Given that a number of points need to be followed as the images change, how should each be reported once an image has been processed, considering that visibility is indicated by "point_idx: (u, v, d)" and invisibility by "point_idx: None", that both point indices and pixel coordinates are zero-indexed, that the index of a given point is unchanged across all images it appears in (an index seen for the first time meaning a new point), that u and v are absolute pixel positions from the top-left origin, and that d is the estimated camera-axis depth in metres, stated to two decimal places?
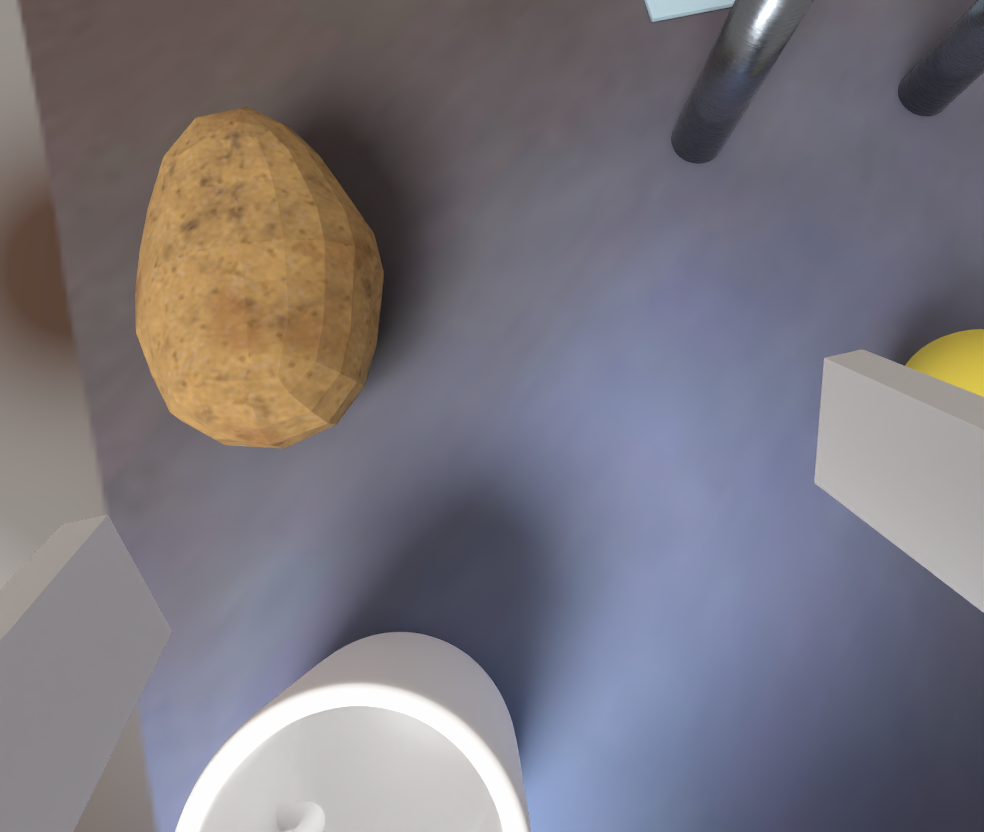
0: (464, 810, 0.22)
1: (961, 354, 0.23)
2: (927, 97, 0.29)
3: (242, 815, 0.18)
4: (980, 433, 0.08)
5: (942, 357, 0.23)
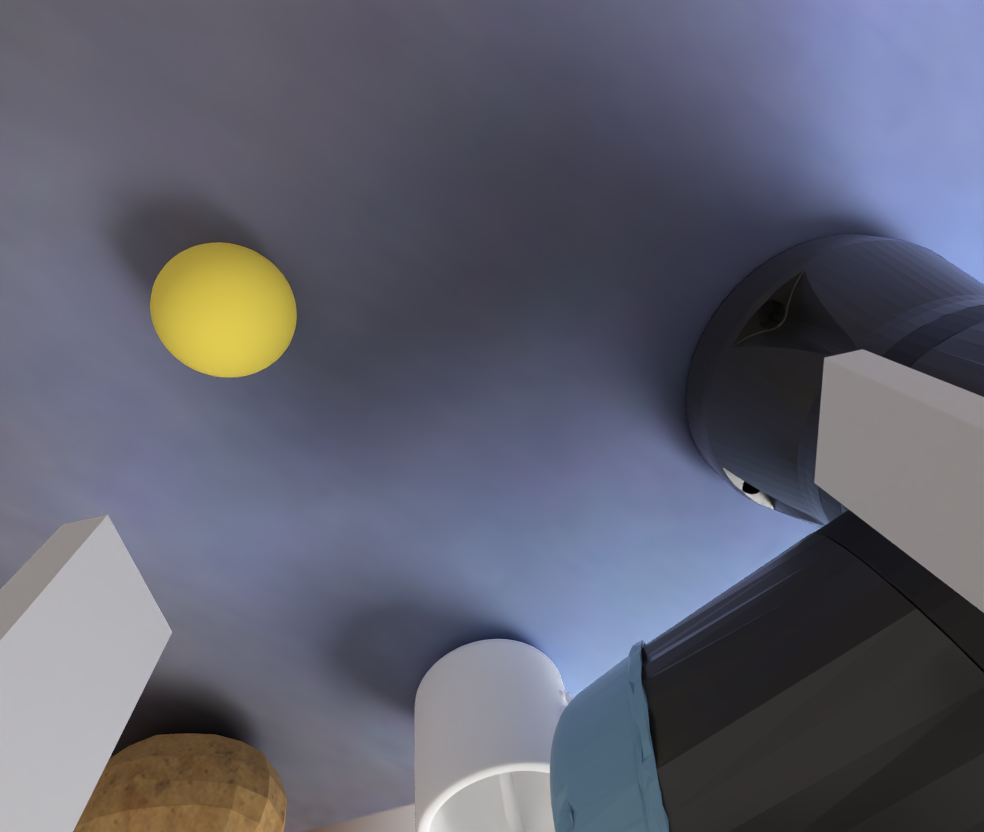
0: None
1: (183, 361, 0.23)
2: None
3: (489, 816, 0.34)
4: (980, 433, 0.08)
5: None
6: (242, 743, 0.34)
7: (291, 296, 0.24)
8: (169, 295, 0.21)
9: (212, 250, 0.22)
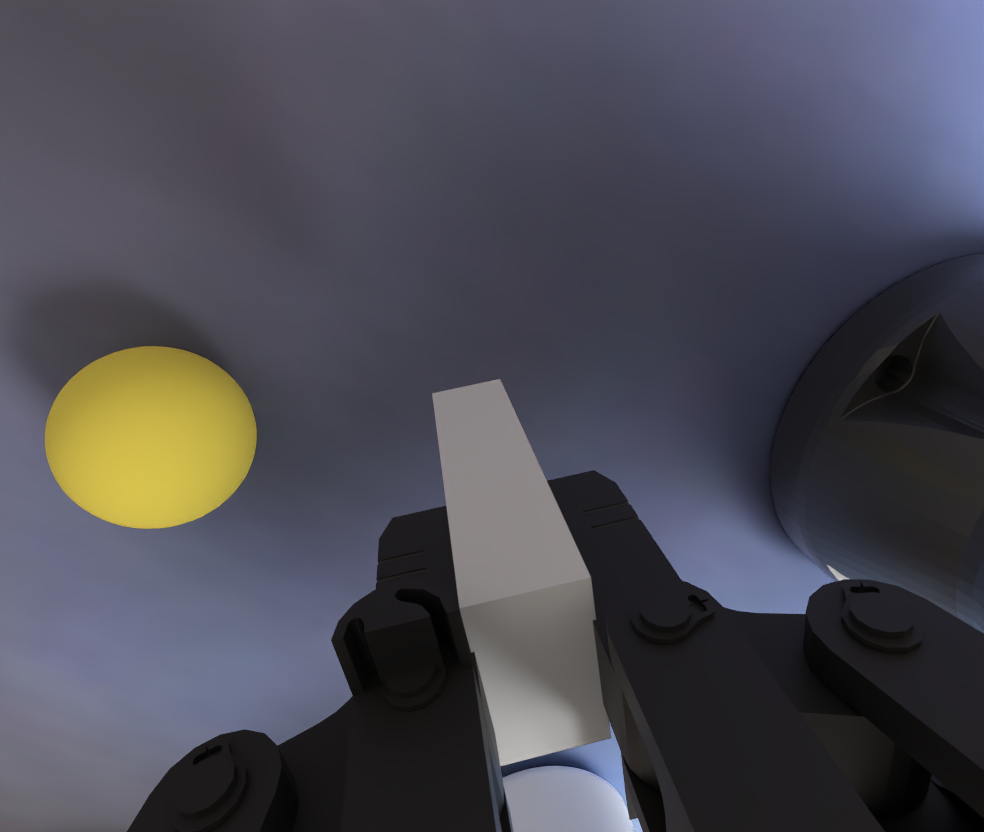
0: None
1: None
2: None
3: None
4: None
5: None
6: None
7: (244, 410, 0.17)
8: (63, 439, 0.15)
9: (123, 367, 0.15)
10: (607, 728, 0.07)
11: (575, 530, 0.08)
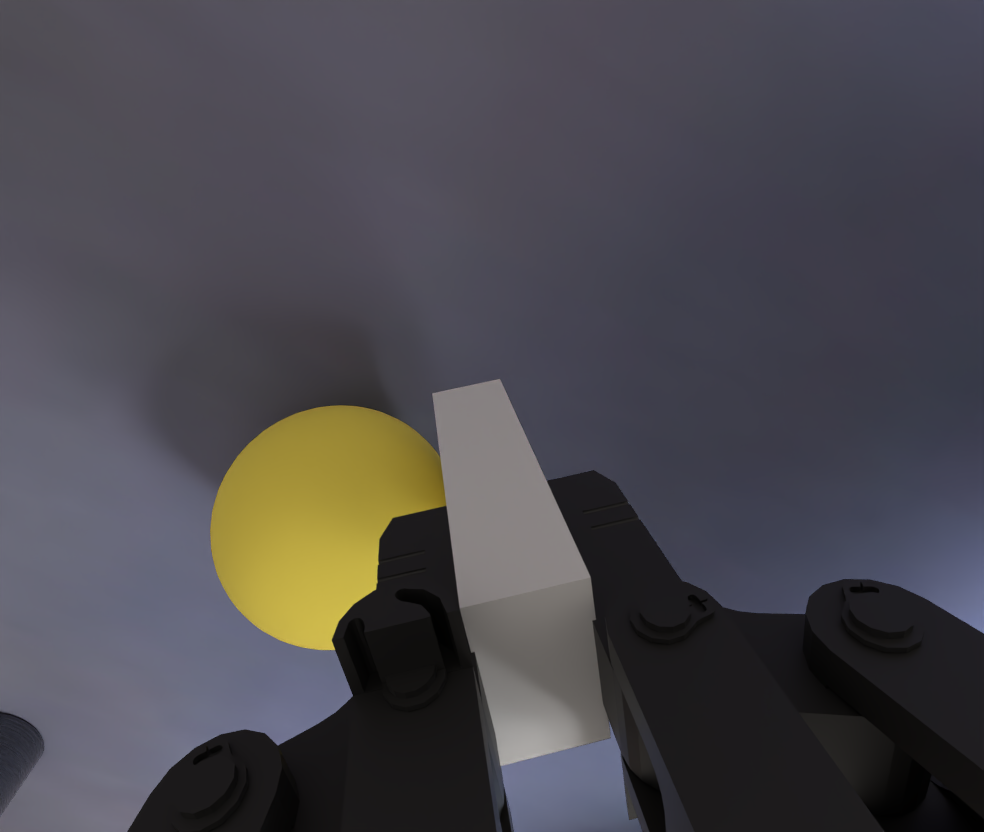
0: None
1: None
2: None
3: None
4: None
5: None
6: None
7: None
8: (211, 523, 0.12)
9: (281, 449, 0.11)
10: (607, 728, 0.07)
11: (574, 530, 0.08)
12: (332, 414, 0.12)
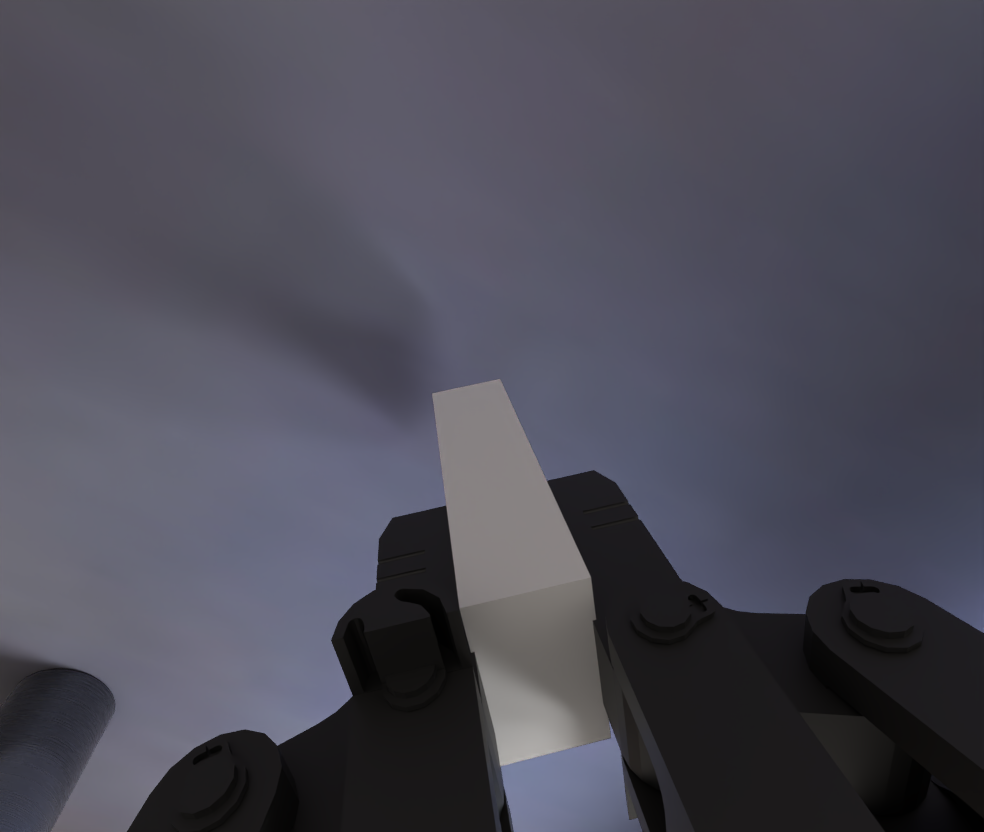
0: None
1: None
2: None
3: None
4: None
5: None
6: None
7: None
8: None
9: None
10: (607, 728, 0.07)
11: (574, 530, 0.08)
12: None
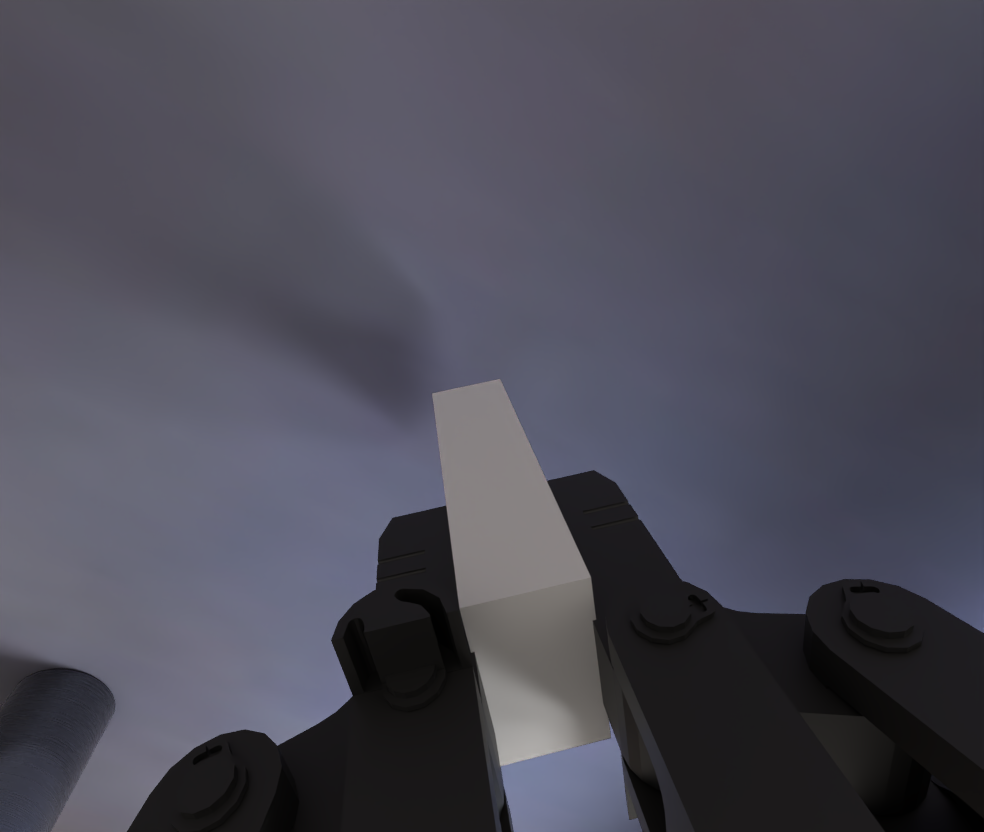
0: None
1: None
2: None
3: None
4: None
5: None
6: None
7: None
8: None
9: None
10: (607, 728, 0.07)
11: (574, 530, 0.08)
12: None
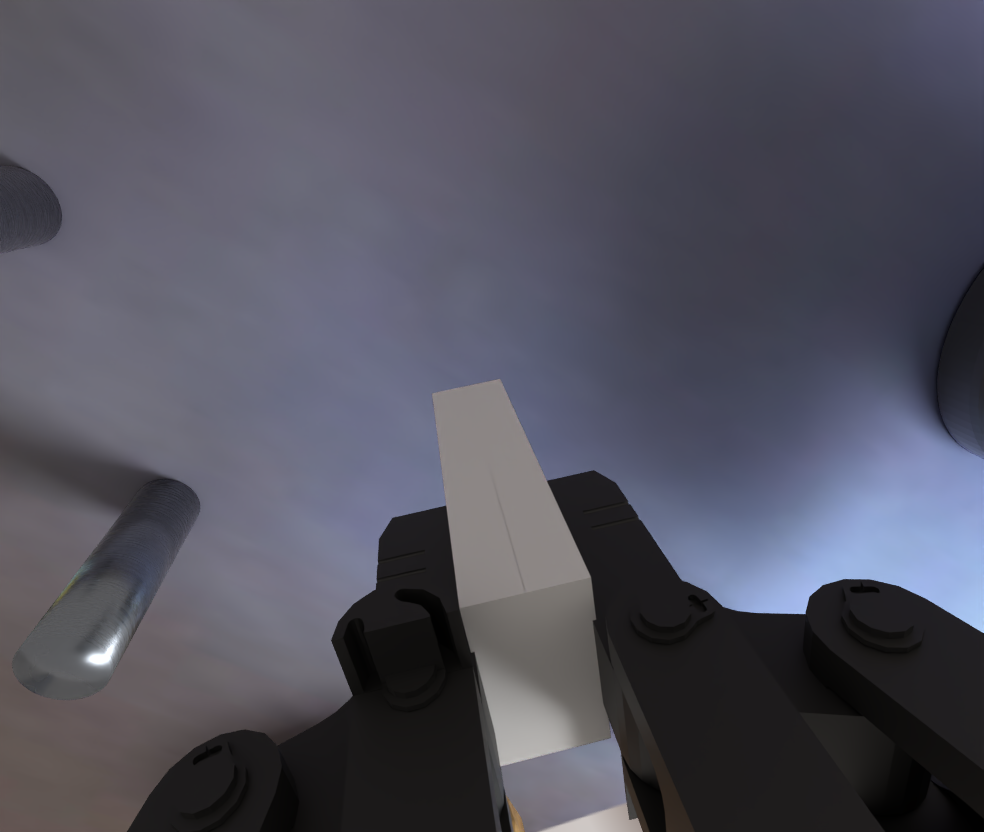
0: None
1: None
2: (42, 233, 0.19)
3: None
4: None
5: None
6: None
7: None
8: None
9: None
10: (607, 727, 0.07)
11: (574, 530, 0.08)
12: None
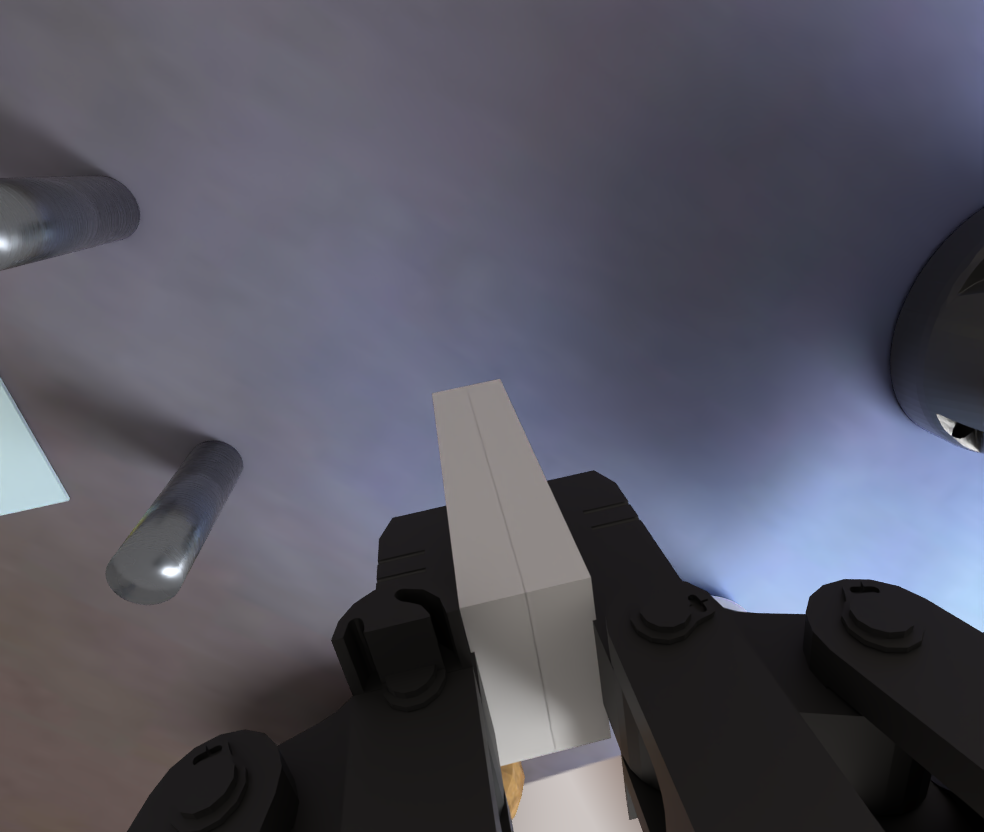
0: None
1: None
2: (126, 230, 0.24)
3: None
4: None
5: None
6: None
7: None
8: None
9: None
10: (607, 728, 0.07)
11: (574, 530, 0.08)
12: None
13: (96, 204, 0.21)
